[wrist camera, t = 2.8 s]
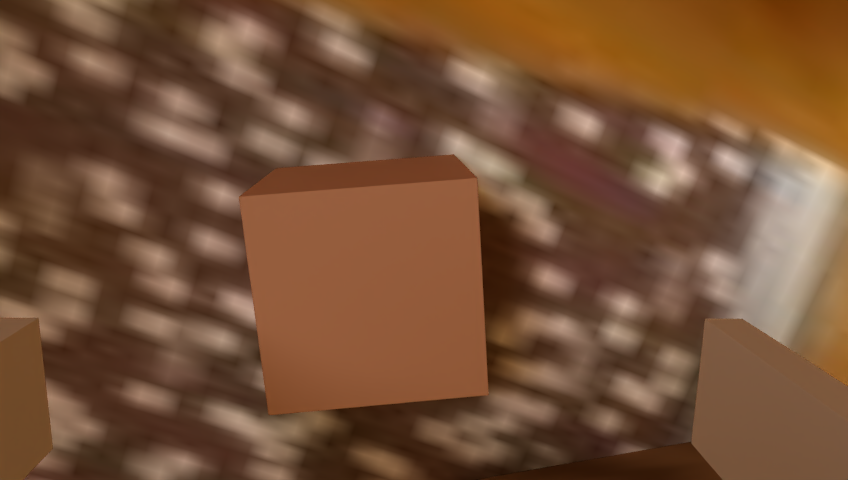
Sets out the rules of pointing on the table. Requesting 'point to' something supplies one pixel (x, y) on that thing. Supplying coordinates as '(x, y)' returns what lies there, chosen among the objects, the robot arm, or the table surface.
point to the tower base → (629, 467)
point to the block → (367, 283)
